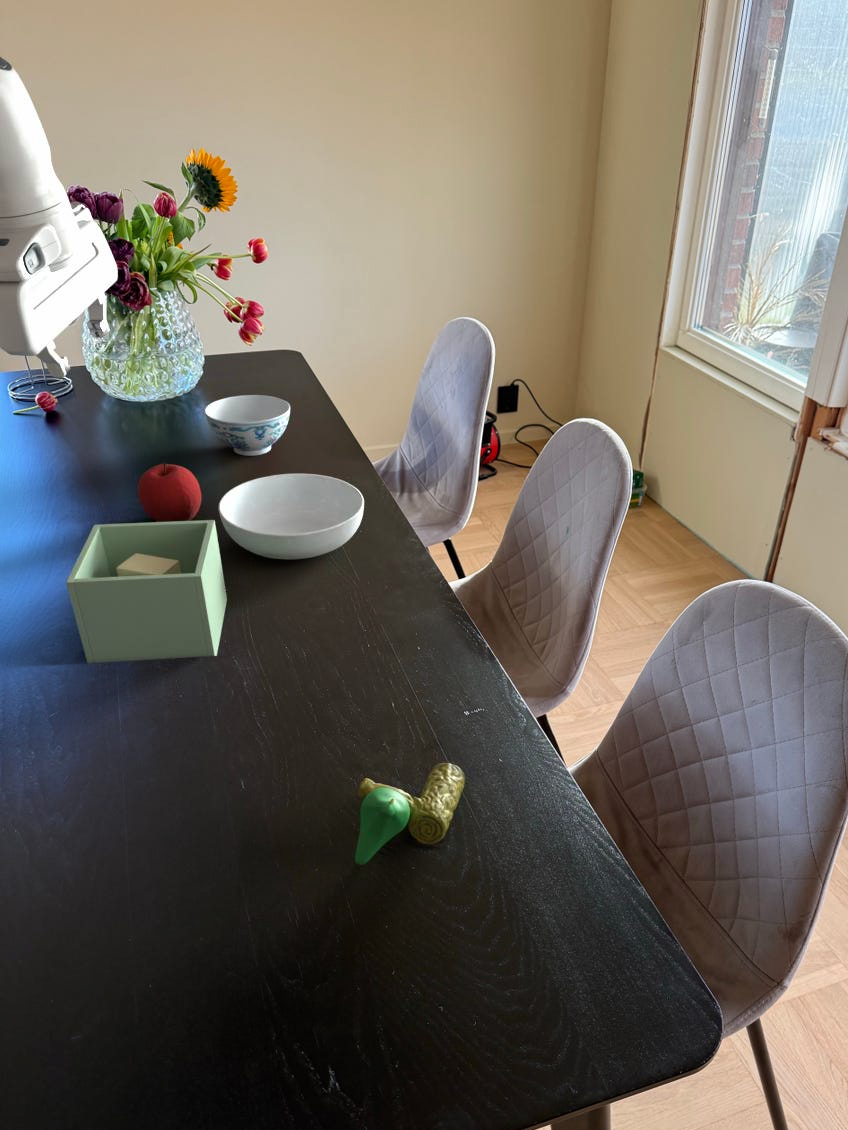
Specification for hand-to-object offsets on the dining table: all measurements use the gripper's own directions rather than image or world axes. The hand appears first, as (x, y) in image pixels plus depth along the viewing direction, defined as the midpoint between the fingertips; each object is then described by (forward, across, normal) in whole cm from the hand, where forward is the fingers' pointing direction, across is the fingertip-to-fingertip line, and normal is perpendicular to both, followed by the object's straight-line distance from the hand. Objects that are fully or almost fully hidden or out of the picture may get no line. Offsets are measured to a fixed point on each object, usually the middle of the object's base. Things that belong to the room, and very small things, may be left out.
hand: (82, 354), depth 102 cm
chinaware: (+42, -44, -6) cm, 61 cm away
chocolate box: (+28, +15, +8) cm, 33 cm away
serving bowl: (+36, -11, +15) cm, 40 cm away
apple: (+36, -14, -6) cm, 39 cm away
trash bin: (+29, +15, +8) cm, 34 cm away
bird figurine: (+25, +44, +48) cm, 69 cm away
